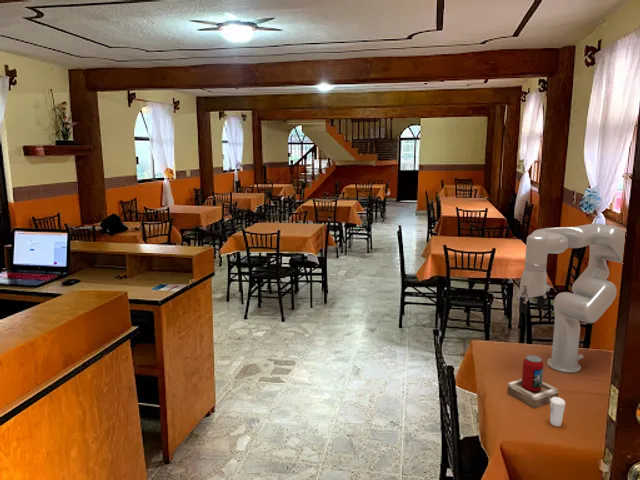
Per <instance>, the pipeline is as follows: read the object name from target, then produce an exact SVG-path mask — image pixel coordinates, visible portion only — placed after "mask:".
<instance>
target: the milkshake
mask: <svg viewBox="0 0 640 480" xmlns="http://www.w3.org/2000/svg"><path fill="white" fill-rule="evenodd" d="M549 398H550V397H549ZM549 408H550V409H549V410H550V413H549V414H550V417H549V419H550V421H549V422H550V424H551V425H552V426H554V427H561V426H562V422H563V416H564V412H565V408H566V401H565V400H564V399H563V398H562V397H560V396H558V397H553V398H551V399H550V403H549Z"/></svg>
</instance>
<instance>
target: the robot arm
mask: <svg viewBox="0 0 640 480" xmlns="http://www.w3.org/2000/svg"><path fill="white" fill-rule="evenodd" d="M625 234H626V233H625V232H624V231H623V230H622V228H620V227H618V226H615V225H609V224H603V223H597V222H596V223H587V224H584V225H583V224H582V225H578V226H563V227H560V226H559V227H545V228H538V229H536V230H533V232H531V234H528V236H527V237H526V246H525V258H524V260H525V261H524V270H522V274H521V276H520V283H519V289H518V290H517V291H516V292H515V294H516V298H517V300H518V302H519V306H518V307H519V308H518V309H519V310H518V311H519V312H520V313H523V314H527V313H528V307H529V306H528V304H529V303H528V301H529V299H532V298H536V307H537V308H538V309H541V310H545V307H546V299H547V298H548V295H549V292H550V291H551V286H550V285H548V275H547V273H548V272H547V265H548V264H547V263H548V255H549V254H554V255H555V254H562V253H564V252H565V251H566V250H567V249H568V248H569V249H579V248H584V247H589V261H588V265H587V267H586V269H584V270H583V272H582V273H580V275H579V276H578V278H577V279H576V280H575V281H574V282H573V284H572V286H571V290H572V292H568V291H564V292H559V293H558V294H557V295H556V296H555V298H554V299H553V311H554V312H553V313H554V326H553V337H552V338H553V339H552V347H551V357H549V358H548V359H547V361H546V364H547V366H548V367H549V368H551V369H552V370H554V371H557V372H560V373H561V372H562V373H568V374H569V373H570V374H573V373H578V372H580V371H581V369H582V366H581V365H580V364H579V360H583V359H584V355H583V354H582V353H581V354H579V345H580V337H581V324H580V322H582V323H585V324H593V323H596V322H597V321H598V320H599V319H601V317H602V316H603V314H605V312H606V311H607V310H608V309H609V307H610V306H611V305H612V304H613V302H615V301H614V300H615V299H616V297H617V291H618V290H617V286H616V285H615V284H614V283H613V282H612V281H609V280H607V279H608V278H609V276H610V269H609V266H608V263H607V261H610V262H615V263H619V264H623V263H622V261H623V252H624V243H625Z"/></svg>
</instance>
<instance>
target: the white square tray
mask: <svg viewBox="0 0 640 480" xmlns="http://www.w3.org/2000/svg"><path fill="white" fill-rule="evenodd" d="M507 394H508V395H510V396H511V397H513V398H515V399H516V400H518V401H519V402H522V403H524V404H526V405H527V406H529V407H530V408H532V409H538V408H540V407H542V406H545V405H548V404H550V399H551V398H553V397H559V389H558V388H556V387H554V386H552V385H551V384H548V383H546V382H543V381H542V387H541V390H540V391H537V392H531V391H527V390H526V389H524V388H523V387H522V378H519V379H516V380H514V381H510V382H508V384H507ZM549 397H550V398H549Z"/></svg>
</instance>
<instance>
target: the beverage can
mask: <svg viewBox="0 0 640 480" xmlns="http://www.w3.org/2000/svg"><path fill="white" fill-rule="evenodd" d="M521 375H522V376H521V379H522V387H523V388H524V389H526V390H527V391H531V392H537V391H540V390H541V387H542V382H543V376H544V361H543V359H542V358H541V356H538V355H534V354H528V355H526V356H525V358H524V359H523V363H522V374H521Z"/></svg>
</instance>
